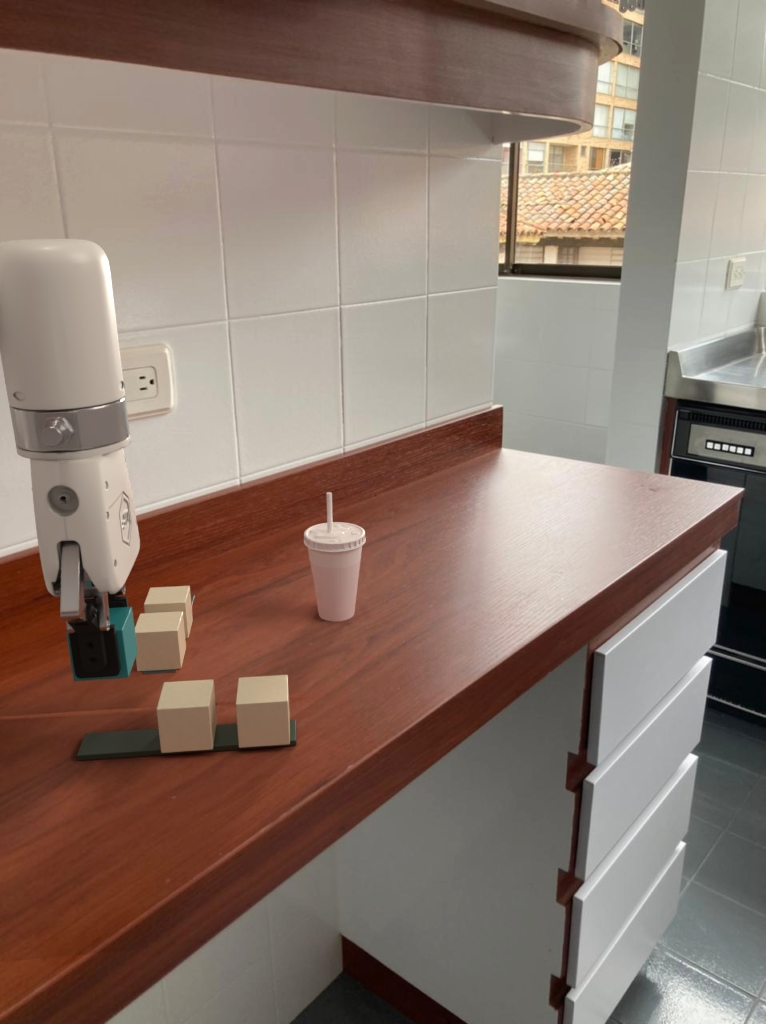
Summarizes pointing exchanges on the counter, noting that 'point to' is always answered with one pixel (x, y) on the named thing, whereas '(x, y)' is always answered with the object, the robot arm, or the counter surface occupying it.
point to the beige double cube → (164, 629)
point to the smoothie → (335, 565)
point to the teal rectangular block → (119, 642)
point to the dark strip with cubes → (204, 722)
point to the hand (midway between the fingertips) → (105, 657)
